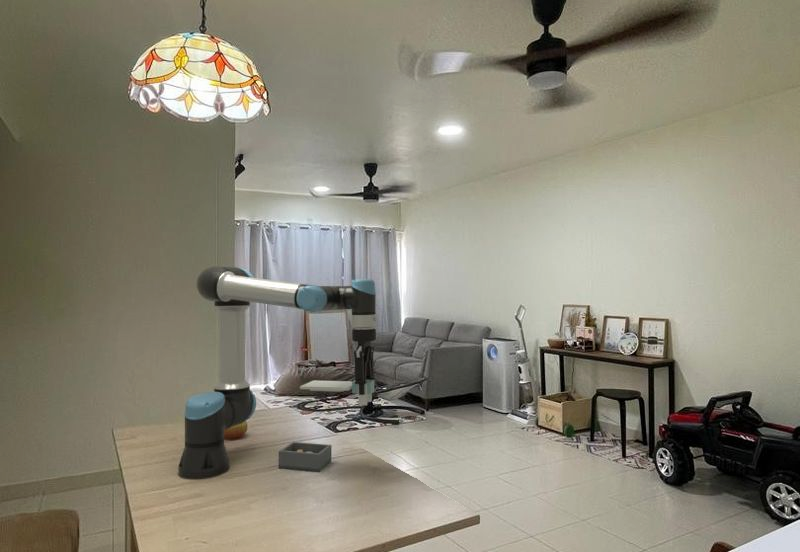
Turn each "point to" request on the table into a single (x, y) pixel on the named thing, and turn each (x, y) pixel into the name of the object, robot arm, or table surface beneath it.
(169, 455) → the table surface
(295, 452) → the tub
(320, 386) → the lid
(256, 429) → the table surface
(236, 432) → the apple
